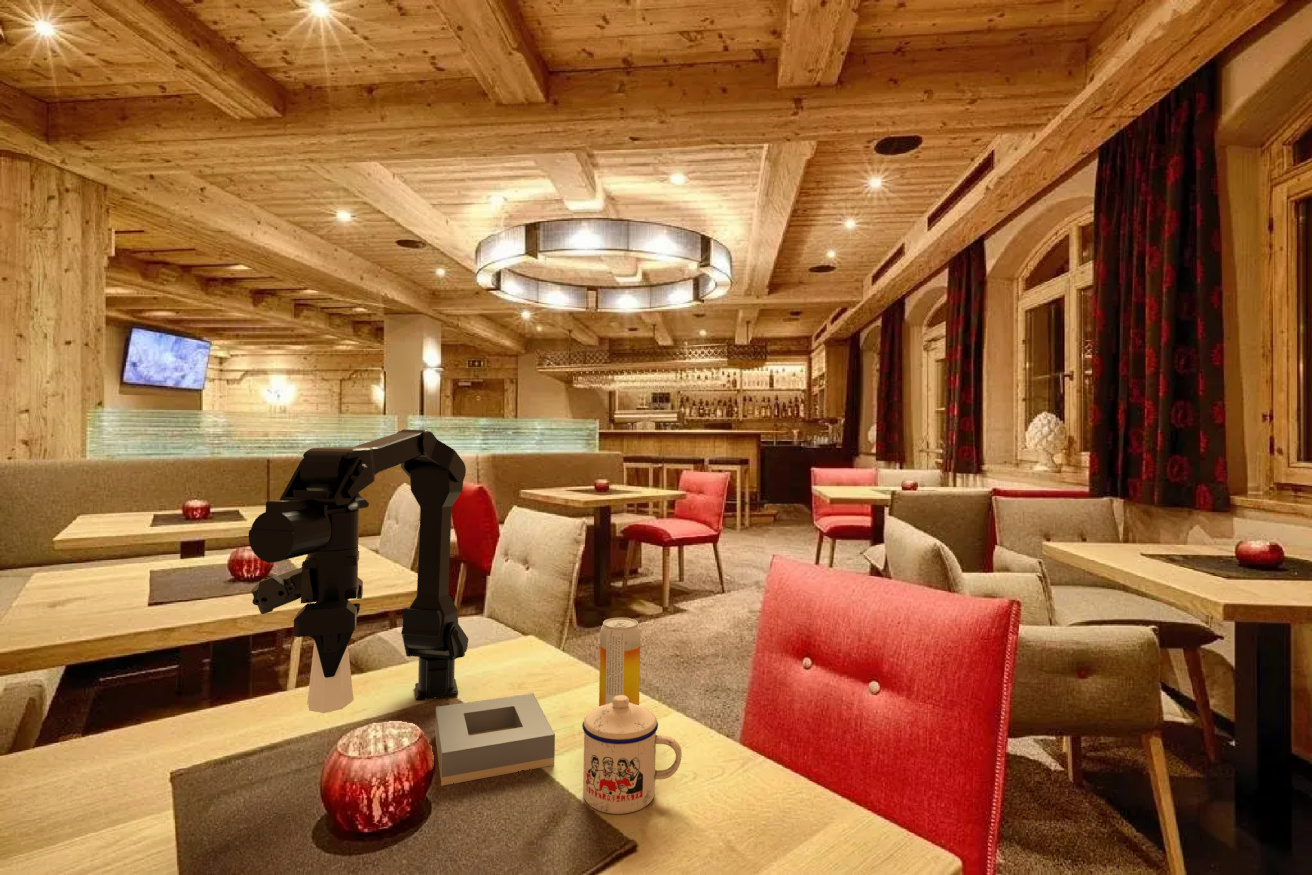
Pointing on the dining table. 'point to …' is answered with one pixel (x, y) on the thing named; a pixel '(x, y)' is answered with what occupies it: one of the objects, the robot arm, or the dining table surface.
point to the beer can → (619, 660)
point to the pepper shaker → (329, 686)
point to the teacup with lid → (622, 756)
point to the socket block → (492, 738)
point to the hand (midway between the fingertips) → (331, 670)
